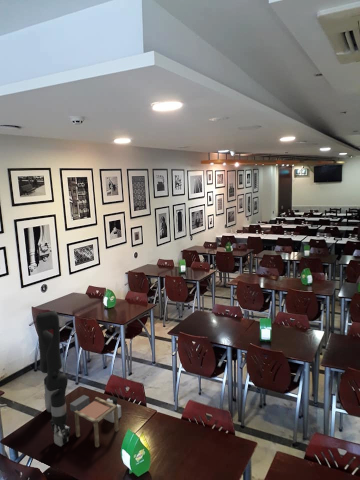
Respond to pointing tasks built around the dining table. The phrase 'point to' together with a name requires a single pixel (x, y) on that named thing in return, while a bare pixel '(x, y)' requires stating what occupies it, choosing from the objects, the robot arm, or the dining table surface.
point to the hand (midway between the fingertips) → (61, 441)
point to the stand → (95, 421)
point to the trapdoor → (88, 407)
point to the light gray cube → (59, 438)
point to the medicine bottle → (111, 416)
